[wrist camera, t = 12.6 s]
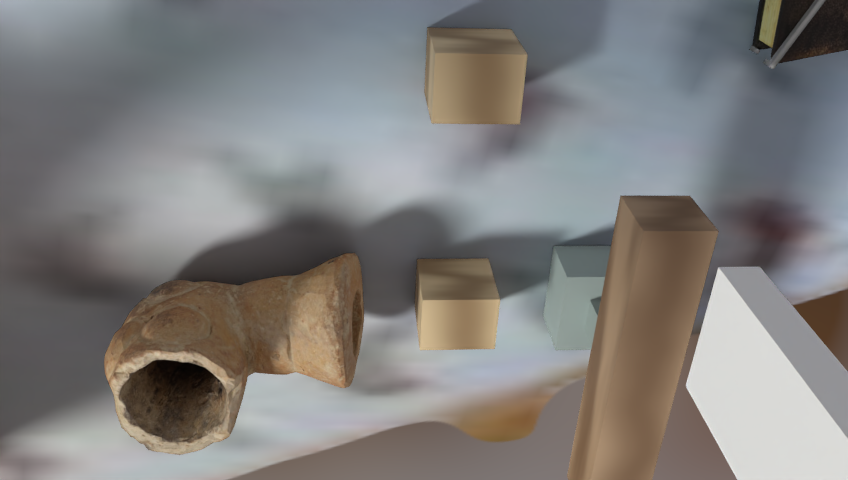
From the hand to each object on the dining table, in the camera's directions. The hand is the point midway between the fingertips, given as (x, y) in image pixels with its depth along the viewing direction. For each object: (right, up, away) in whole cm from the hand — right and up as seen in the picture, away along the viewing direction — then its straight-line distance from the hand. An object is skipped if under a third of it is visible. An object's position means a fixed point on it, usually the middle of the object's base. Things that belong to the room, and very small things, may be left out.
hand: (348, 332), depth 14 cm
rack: (+4, +6, +37) cm, 38 cm away
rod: (+14, -5, +36) cm, 39 cm away
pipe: (-11, -2, +41) cm, 43 cm away
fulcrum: (+13, -1, +42) cm, 44 cm away
